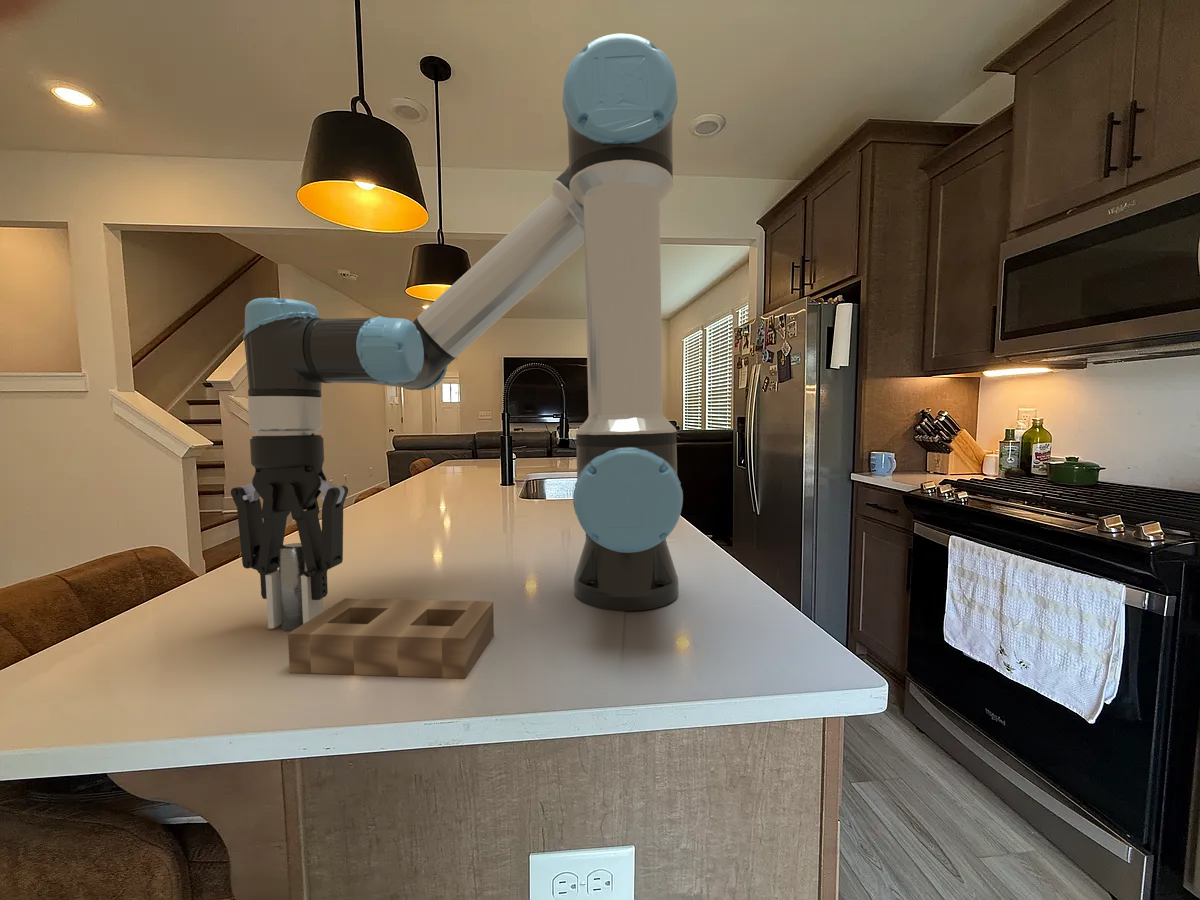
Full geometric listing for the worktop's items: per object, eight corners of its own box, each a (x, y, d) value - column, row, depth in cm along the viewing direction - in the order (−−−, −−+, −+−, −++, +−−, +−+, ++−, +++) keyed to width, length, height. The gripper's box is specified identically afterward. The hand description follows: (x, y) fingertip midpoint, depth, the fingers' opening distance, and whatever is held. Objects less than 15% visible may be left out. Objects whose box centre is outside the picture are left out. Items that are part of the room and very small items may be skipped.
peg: (315, 621, 64) (312, 543, 64) (299, 631, 61) (296, 549, 61) (292, 621, 65) (289, 542, 64) (276, 631, 62) (272, 549, 61)
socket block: (493, 635, 60) (493, 601, 60) (464, 678, 50) (464, 638, 50) (346, 631, 61) (345, 598, 61) (289, 672, 51) (287, 633, 51)
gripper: (371, 432, 65) (377, 614, 66) (245, 432, 66) (254, 611, 67) (336, 434, 57) (344, 639, 59) (194, 434, 58) (205, 635, 60)
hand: (296, 623), depth 63 cm, fingers open, 4 cm apart
